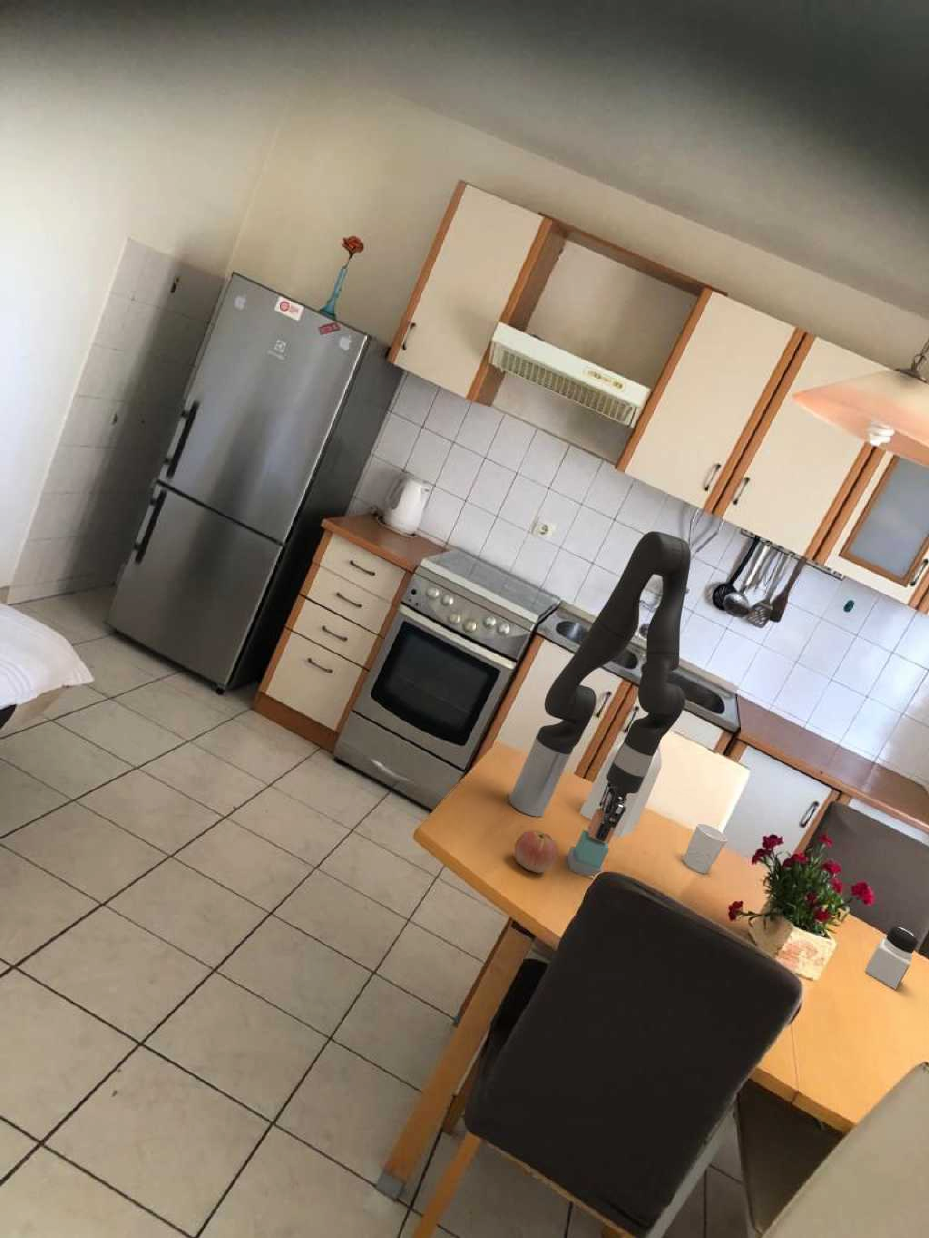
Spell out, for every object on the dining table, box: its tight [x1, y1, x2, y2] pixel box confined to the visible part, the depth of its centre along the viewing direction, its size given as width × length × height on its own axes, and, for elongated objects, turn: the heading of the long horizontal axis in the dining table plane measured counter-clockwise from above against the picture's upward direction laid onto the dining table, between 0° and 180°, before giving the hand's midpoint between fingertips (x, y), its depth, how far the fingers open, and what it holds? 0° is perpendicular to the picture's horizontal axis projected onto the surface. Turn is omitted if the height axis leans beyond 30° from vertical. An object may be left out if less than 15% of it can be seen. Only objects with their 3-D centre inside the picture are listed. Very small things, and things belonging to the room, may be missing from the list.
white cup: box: [682, 822, 728, 875], centre depth 239 cm, size 8×8×10 cm
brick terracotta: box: [587, 809, 618, 845], centre depth 210 cm, size 4×4×5 cm
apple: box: [513, 829, 559, 874], centre depth 202 cm, size 9×9×8 cm
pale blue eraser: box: [566, 845, 604, 877], centre depth 212 cm, size 7×7×2 cm
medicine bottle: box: [865, 926, 919, 991], centre depth 219 cm, size 7×7×12 cm
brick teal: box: [574, 829, 610, 869], centre depth 211 cm, size 6×6×5 cm
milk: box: [578, 739, 663, 839], centre depth 243 cm, size 12×12×26 cm
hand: (598, 833), depth 211 cm, fingers closed on brick terracotta, 4 cm apart
